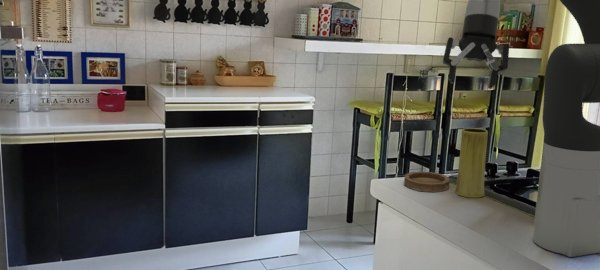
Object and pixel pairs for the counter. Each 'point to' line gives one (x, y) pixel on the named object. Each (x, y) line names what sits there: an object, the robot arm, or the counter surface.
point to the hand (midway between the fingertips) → (471, 85)
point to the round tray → (426, 181)
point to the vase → (472, 163)
